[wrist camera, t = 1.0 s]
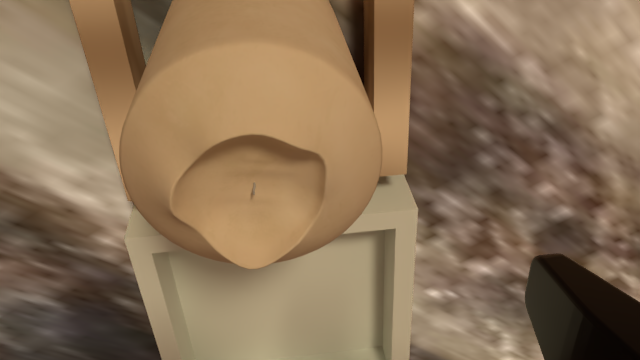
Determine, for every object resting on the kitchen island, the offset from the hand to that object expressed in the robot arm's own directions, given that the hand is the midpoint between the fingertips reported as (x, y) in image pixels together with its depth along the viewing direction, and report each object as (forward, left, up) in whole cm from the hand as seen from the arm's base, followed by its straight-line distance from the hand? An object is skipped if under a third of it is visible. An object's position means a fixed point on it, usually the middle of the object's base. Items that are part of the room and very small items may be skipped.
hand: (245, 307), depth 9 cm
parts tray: (-11, 0, -12) cm, 17 cm away
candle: (0, 0, -13) cm, 13 cm away
